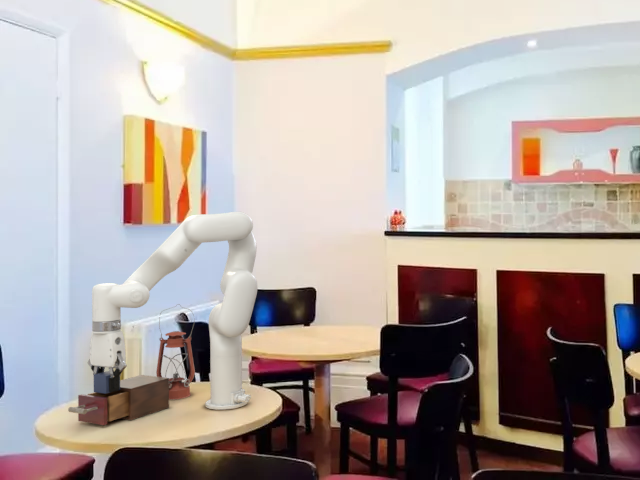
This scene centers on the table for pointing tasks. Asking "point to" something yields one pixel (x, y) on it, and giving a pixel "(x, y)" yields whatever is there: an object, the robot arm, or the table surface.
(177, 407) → the table surface
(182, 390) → the lantern
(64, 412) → the table surface
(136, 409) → the cabinet
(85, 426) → the table surface
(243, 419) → the table surface
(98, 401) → the drawer
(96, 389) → the block
